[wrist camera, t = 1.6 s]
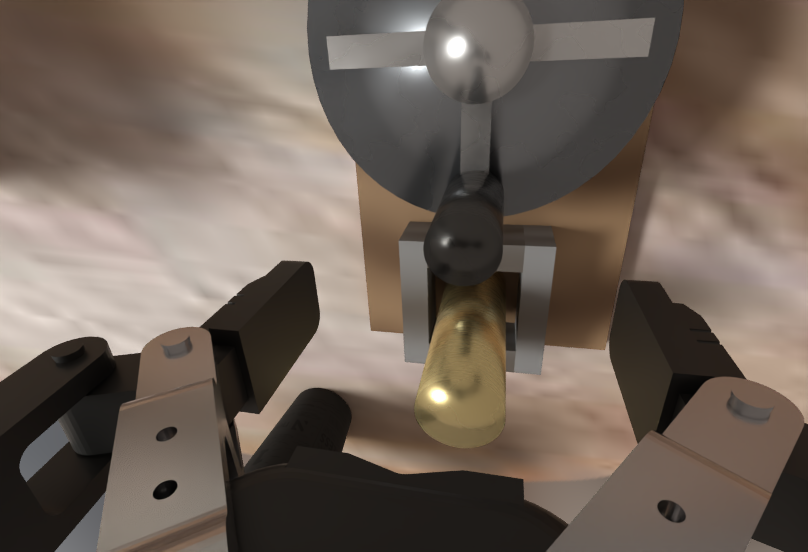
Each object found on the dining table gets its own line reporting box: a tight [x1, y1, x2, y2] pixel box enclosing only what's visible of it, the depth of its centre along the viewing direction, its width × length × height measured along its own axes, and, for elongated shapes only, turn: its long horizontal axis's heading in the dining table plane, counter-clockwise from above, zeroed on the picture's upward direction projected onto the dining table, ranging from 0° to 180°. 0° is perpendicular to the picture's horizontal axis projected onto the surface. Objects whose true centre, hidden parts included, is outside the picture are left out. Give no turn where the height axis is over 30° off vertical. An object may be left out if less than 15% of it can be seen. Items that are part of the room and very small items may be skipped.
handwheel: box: [307, 0, 684, 286], centre depth 15 cm, size 14×14×8 cm
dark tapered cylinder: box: [244, 388, 351, 474], centre depth 28 cm, size 8×8×20 cm
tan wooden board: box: [356, 105, 654, 375], centre depth 23 cm, size 23×15×4 cm, turn 2°
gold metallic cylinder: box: [414, 271, 506, 448], centre depth 22 cm, size 4×4×11 cm
